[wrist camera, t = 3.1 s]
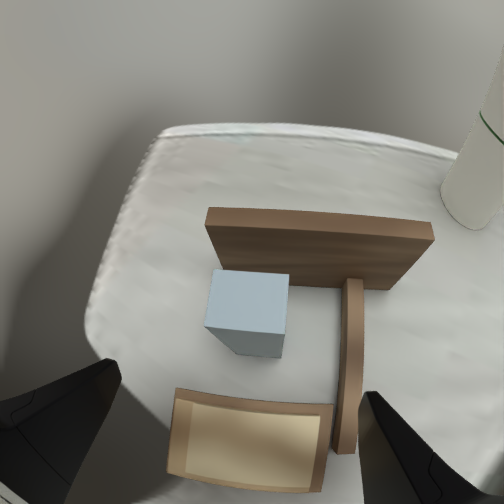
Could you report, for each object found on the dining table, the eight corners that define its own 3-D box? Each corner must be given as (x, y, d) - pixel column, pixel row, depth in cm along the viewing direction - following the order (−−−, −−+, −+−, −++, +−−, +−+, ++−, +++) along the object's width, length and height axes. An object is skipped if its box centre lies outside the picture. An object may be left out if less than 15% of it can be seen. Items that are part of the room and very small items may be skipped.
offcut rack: (377, 483, 13) (423, 520, 6) (169, 469, 15) (116, 500, 8) (388, 276, 21) (430, 222, 14) (201, 264, 23) (168, 206, 16)
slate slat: (281, 358, 19) (285, 333, 10) (236, 354, 19) (203, 326, 11) (284, 324, 20) (289, 274, 11) (240, 321, 20) (213, 269, 12)
